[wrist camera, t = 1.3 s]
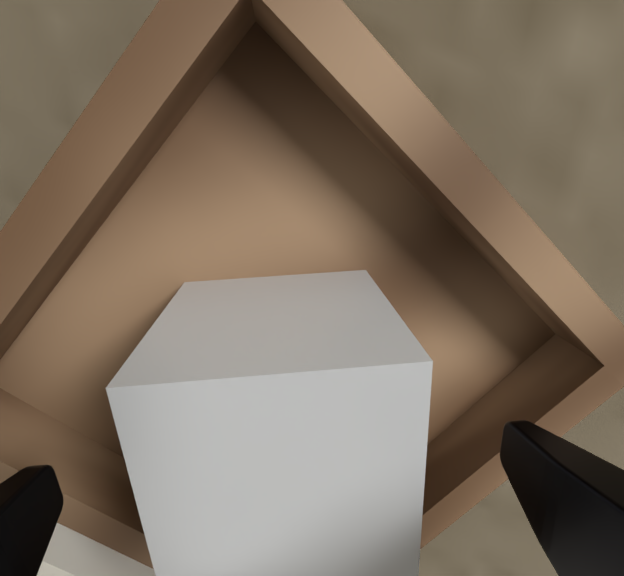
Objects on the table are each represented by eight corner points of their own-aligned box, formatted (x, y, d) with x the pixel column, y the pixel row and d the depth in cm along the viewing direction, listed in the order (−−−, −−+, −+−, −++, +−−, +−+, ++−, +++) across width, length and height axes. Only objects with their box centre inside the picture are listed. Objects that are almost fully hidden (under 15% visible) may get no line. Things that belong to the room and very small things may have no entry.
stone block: (365, 269, 11) (433, 361, 6) (365, 417, 12) (418, 579, 8) (184, 282, 10) (105, 387, 6) (209, 431, 12) (164, 608, 7)
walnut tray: (584, 322, 13) (655, 361, 10) (300, 566, 15) (304, 641, 13) (251, -45, 9) (240, -118, 6) (-50, 372, 11) (-136, 429, 9)
